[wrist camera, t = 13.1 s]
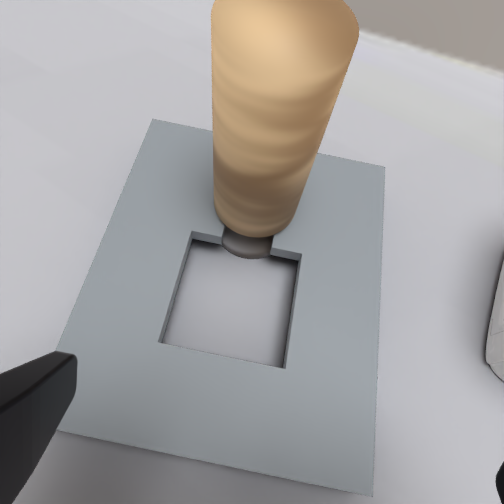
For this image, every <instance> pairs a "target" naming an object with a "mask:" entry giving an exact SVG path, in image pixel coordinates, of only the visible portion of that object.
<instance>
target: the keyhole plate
mask: <svg viewBox="0 0 504 504" xmlns="http://www.w3.org/2000/svg"><path fill="white" fill-rule="evenodd" d="M384 185H385V167H383V166H378V165H373V164H369V163H364V162H359V161H354V160H349V159H344V158H340V157H335V156H330V155H325V154H320V153H317V155H316V157H315V160H314V163H313V166H312V168H311V171H310V174H309V177H308V179H307V182H306V185H305V188H304V190H303V193H302V196H301V199H300V201H299V204H298V207H297V210H296V213H295V215H294V217H293V219H292V221H291V222H290V224H289V225H288V226H287V227H286V228H285V229H283V230H282V231H280V232H278V233H276V234H274V235H273V240H272V245H271V250H270V255H274V256H279V257H283V258H288V259H293V260H298V261H299V262H298V269H297V276H296V283H295V289H294V296H293V303H292V310H291V317H290V323H289V330H288V337H287V344H286V351H285V357H284V364H283V368H278V367H274V366H269V365H264V364H259V363H255V362H250V361H245V360H240V359H236V358H231V357H226V356H221V355H217V354H212V353H207V352H202V351H198V350H193V349H188V348H183V347H179V346H174V345H169V344H164V343H162V339H163V336H164V332H165V329H166V326H167V322H168V319H169V316H170V312H171V309H172V305H173V302H174V299H175V295H176V292H177V289H178V285H179V282H180V278H181V275H182V272H183V268H184V265H185V262H186V258H187V255H188V252H189V248H190V245H191V241H192V239H197V240H202V241H207V242H212V243H216V244H222V240H223V236H224V232H225V228H226V225H225V224H224V223H223V222H222V221H221V220H220V218H219V217H218V215H217V213H216V210H215V207H214V181H213V131H209V130H204V129H199V128H195V127H190V126H185V125H180V124H175V123H170V122H166V121H161V120H156V119H152V121H151V124H150V126H149V129H148V131H147V133H146V136H145V138H144V141H143V143H142V145H141V148H140V150H139V152H138V155H137V157H136V160H135V162H134V164H133V167H132V169H131V172H130V174H129V176H128V179H127V181H126V184H125V186H124V188H123V191H122V193H121V195H120V198H119V200H118V203H117V205H116V207H115V210H114V212H113V215H112V217H111V219H110V222H109V224H108V226H107V229H106V231H105V234H104V236H103V238H102V241H101V243H100V246H99V248H98V250H97V253H96V255H95V258H94V260H93V262H92V265H91V267H90V269H89V272H88V274H87V277H86V279H85V281H84V284H83V286H82V289H81V291H80V293H79V296H78V298H77V301H76V303H75V305H74V308H73V310H72V312H71V315H70V317H69V320H68V322H67V324H66V327H65V329H64V332H63V334H62V336H61V339H60V341H59V344H58V346H57V348H56V351H61V352H66V353H71V354H74V355H76V357H77V360H78V366H77V387H76V392H75V396H74V398H73V400H72V402H71V404H70V406H69V407H68V409H67V411H66V413H65V415H64V417H63V418H62V420H61V422H60V424H59V426H58V428H57V429H56V430H59V431H64V432H68V433H73V434H78V435H82V436H87V437H92V438H97V439H101V440H106V441H111V442H115V443H120V444H125V445H130V446H134V447H139V448H144V449H148V450H153V451H158V452H163V453H167V454H172V455H177V456H181V457H186V458H191V459H196V460H200V461H205V462H210V463H214V464H219V465H224V466H229V467H233V468H238V469H243V470H247V471H252V472H257V473H262V474H266V475H271V476H276V477H280V478H285V479H290V480H295V481H299V482H304V483H309V484H313V485H318V486H323V487H328V488H332V489H337V490H342V491H346V492H351V493H356V494H361V495H365V496H370V497H373V474H374V448H375V422H376V395H377V369H378V343H379V317H380V290H381V264H382V238H383V212H384Z"/></svg>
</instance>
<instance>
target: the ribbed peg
mask: <svg viewBox="0 0 504 504" xmlns="http://www.w3.org/2000/svg"><path fill="white" fill-rule="evenodd" d="M358 37H359V27H358V22H357V20H356V17H355V15H354V13H353V12H352V10H351V9H350V8H349V6H347V4H346V3H345V2H344V1H343V0H215V2H214V4H213V7H212V11H211V46H212V114H213V181H214V207H215V210H216V213H217V215H218V217H219V218H220V220H221V221H222V222H223V223H224V224H225V225H226V228H225V232H224V236H223V240H222V244H221V245H222V246H223V247H224V248H225V249H226V250H228V251H229V252H230V253H232V254H234V255H236V256H239V257H242V258H247V259H259V258H264V257H267V256H269V255H270V250H271V245H272V240H273V235H274V234H276V233H278V232H280V231H282V230H283V229H285V228H286V227H287V226H288V225H289V224H290V222H291V221H292V219H293V217H294V215H295V213H296V210H297V207H298V204H299V201H300V199H301V196H302V193H303V190H304V188H305V185H306V182H307V179H308V177H309V174H310V171H311V168H312V166H313V163H314V160H315V157H316V155H317V152H318V149H319V146H320V144H321V141H322V138H323V135H324V133H325V130H326V127H327V124H328V121H329V119H330V116H331V113H332V110H333V108H334V105H335V102H336V99H337V97H338V94H339V91H340V88H341V86H342V83H343V80H344V77H345V75H346V72H347V69H348V66H349V64H350V61H351V58H352V55H353V53H354V50H355V47H356V44H357V42H358Z"/></svg>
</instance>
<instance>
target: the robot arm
mask: <svg viewBox="0 0 504 504" xmlns="http://www.w3.org/2000/svg"><path fill="white" fill-rule="evenodd" d="M77 366H78V360H77V357H76V355H74V354H71V353H66V352H61V351H54V352H52V353H49V354H47V355H44V356H42V357H40V358H37V359H35V360H32V361H30V362H28V363H25V364H23V365H20V366H18V367H16V368H13V369H11V370H8V371H6V372H4V373H1V374H0V504H12V503H13V501H14V500H15V498H16V497H17V495H18V494H19V492H20V491H21V489H22V488H23V487H24V485H25V483H26V482H27V480H28V479H29V477H30V476H31V474H32V473H33V471H34V469H35V467H36V466H37V464H38V462H39V460H40V459H41V457H42V455H43V453H44V451H45V450H46V448H47V446H48V444H49V442H50V440H51V439H52V437H53V435H54V433H55V431H56V429H57V428H58V426H59V424H60V422H61V420H62V418H63V417H64V415H65V413H66V411H67V409H68V407H69V406H70V404H71V402H72V400H73V398H74V396H75V392H76V387H77ZM496 488H497V491H498V494H499V497H500V500H501V503H502V504H504V462H503V464H502V465H501V467H500V469H499V471H498V473H497V475H496Z"/></svg>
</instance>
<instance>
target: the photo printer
mask: <svg viewBox="0 0 504 504" xmlns="http://www.w3.org/2000/svg"><path fill="white" fill-rule="evenodd" d="M486 361H487V363H488V364H490V365H491V368H492V370H493V371H494V372H495V374H496V375H497V376H498V377H499V378H500V379H502V380H503V381H504V261H503V265H502V270H501V273H500V278H499V282H498V287H497V291H496V296H495V301H494V306H493V311H492V315H491V321H490V324H489V331H488V337H487V344H486Z"/></svg>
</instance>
